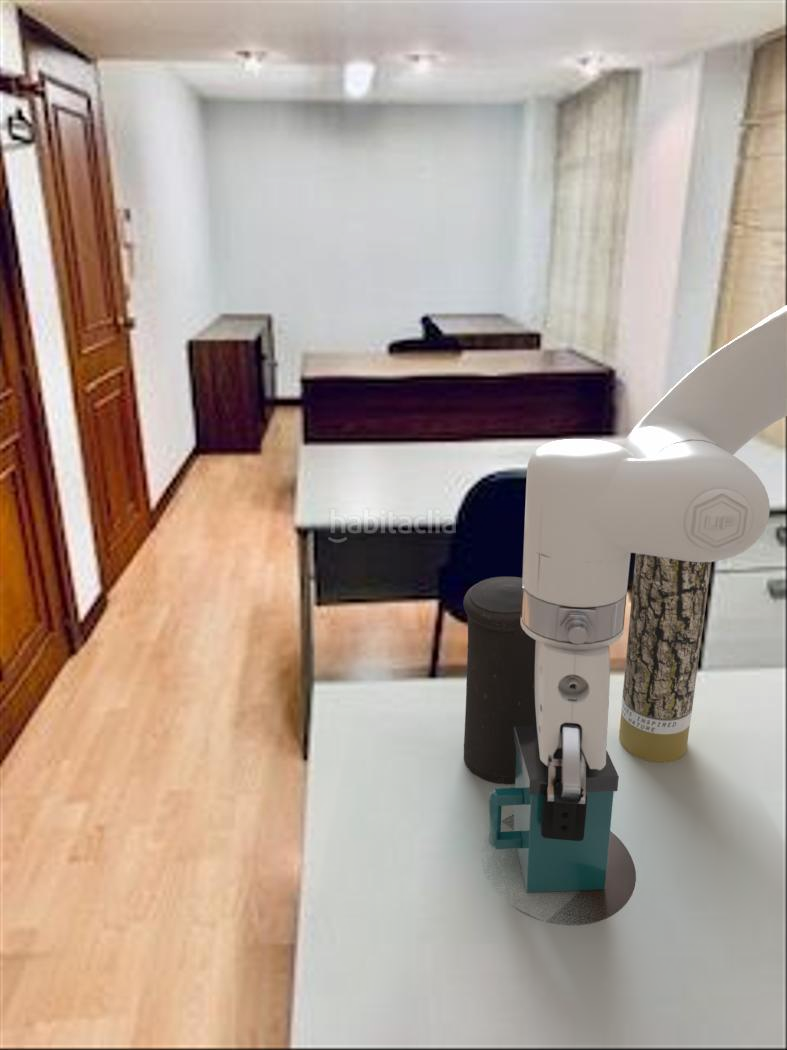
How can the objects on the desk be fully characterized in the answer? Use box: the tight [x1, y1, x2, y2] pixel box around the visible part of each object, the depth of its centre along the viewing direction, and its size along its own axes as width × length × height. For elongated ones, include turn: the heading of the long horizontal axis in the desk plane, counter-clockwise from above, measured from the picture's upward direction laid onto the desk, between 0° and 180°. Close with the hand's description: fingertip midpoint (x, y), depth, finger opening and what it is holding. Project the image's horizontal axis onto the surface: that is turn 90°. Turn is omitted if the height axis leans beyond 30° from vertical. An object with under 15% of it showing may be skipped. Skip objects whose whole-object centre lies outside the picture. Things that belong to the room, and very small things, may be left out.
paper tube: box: [618, 553, 712, 763], centre depth 76 cm, size 7×7×25 cm
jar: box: [487, 726, 620, 893], centre depth 63 cm, size 9×7×11 cm
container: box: [462, 576, 537, 785], centre depth 75 cm, size 9×9×20 cm
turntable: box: [481, 814, 637, 926], centre depth 65 cm, size 13×13×1 cm
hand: (559, 799), depth 62 cm, fingers closed on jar, 7 cm apart
